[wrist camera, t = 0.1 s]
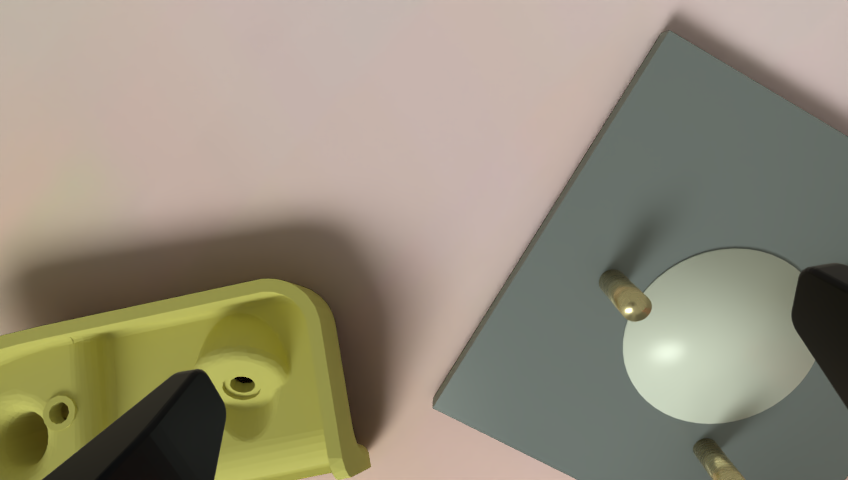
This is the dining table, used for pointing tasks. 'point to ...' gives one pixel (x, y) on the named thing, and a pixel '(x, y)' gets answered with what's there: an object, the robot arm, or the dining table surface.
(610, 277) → the brass pins
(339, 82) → the dining table surface
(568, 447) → the nest plate
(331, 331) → the plastic component
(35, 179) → the dining table surface
